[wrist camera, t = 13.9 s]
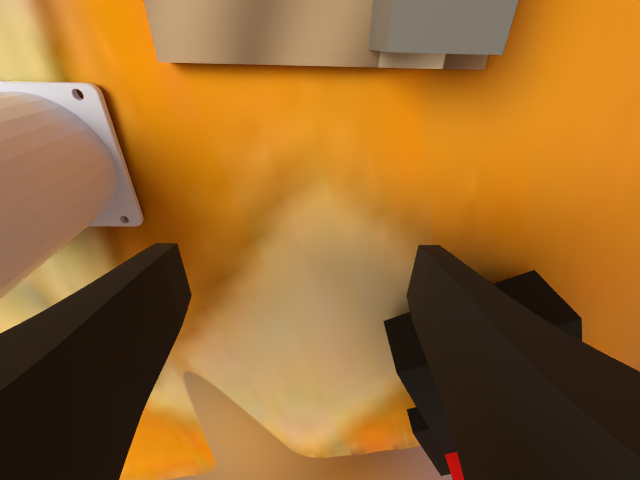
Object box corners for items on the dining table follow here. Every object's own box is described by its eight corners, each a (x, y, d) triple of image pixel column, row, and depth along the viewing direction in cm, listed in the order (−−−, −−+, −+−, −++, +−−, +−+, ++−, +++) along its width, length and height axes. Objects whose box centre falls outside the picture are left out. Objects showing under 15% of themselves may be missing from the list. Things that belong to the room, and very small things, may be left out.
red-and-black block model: (663, 338, 14) (628, 506, 27) (547, 240, 21) (562, 410, 34) (370, 416, 18) (461, 534, 30) (353, 309, 25) (433, 441, 37)
